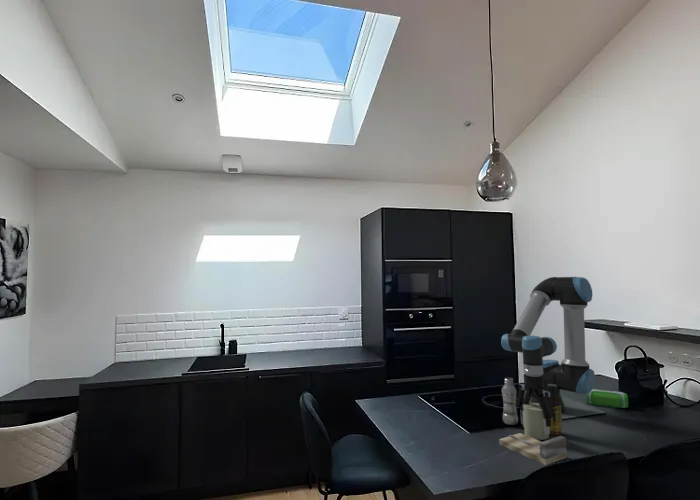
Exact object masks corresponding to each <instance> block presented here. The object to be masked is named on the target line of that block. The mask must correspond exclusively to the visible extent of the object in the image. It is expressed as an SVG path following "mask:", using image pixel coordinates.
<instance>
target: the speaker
mask: <svg viewBox="0 0 700 500" xmlns="http://www.w3.org/2000/svg"><path fill="white" fill-rule="evenodd" d="M585 402H586V403H587V404H589V405H594V406H600V407H607V408H615V409H618V408H619V409H625V408H629V397H628V394H627V393H625V392H622V391H614V390H606V389H595V388H592V390H591V392H590V393H588V394H585Z"/></svg>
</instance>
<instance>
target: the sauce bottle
mask: <svg viewBox="0 0 700 500" xmlns="http://www.w3.org/2000/svg"><path fill="white" fill-rule="evenodd" d="M547 388H548V392H549V391H550V392H551V399H552V403H553V408H554V412H555V417H554V418H551V426H550V434H549V436H550V435H551V436H561V434H562V430H563V429H562V426H563V425H562V412H561V404H560V401H559V399H558V395H557V389H558V386H557V385H555V384H547ZM545 403H546V402H545Z"/></svg>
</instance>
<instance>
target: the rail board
mask: <svg viewBox="0 0 700 500" xmlns="http://www.w3.org/2000/svg"><path fill="white" fill-rule="evenodd" d="M498 441H499V446H502V447H504V448H506V449H509V450H510V451H512V452H515V453H518V454H519V455H522V456H524V457H527V458H529V459H531V460H533V461H535V462H537V463H540V464H542V465H544V466H548V465H551V464H553V463H555V462H558V461H561V460H564V459H566V458H567V457H568V454H567V438H566V437H565V436H563V435H557V436H556V437H553V438H550V439H546V440H544V441H541V440H538V439H534V438H531V437H529V436H526V435H525V434H524V433H520V432H519V433H515V434H509V435H508V436H506V437H503V438H499V440H498Z"/></svg>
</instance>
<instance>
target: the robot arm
mask: <svg viewBox="0 0 700 500" xmlns="http://www.w3.org/2000/svg"><path fill="white" fill-rule="evenodd" d="M592 300H593V289H592V285H591V283H590V281H589V280H588V279H587V278H586V277H582V276H581V277H580V276H552V277H548V278H546V279H544V280H542V281H541V282H539V283H538V284H537V285H536V286H534V288H533V289H532V291H531V292H530V295H529V301H528V303H527V305H526V306H525V308H524V309H523V311H522V313H521V315H520V316H519V318H518V320H517V322H516V324H515V325H514V328H513V329H512V331H511V333H505V334H502V336H501V341H500V344H501V347H502V349H503V350H505V351H509V352H512V353H514V352H515V353H520V354H522V363H523V364H522V367H523V370H522V371H523V373H524V374H523V382H524V383H520V384H518V385H517V387H518V391H517V393H518V394H517V398H516V408H519V409H520V413H521V414H520V416H521V418H522V427H523V428H524V409H523V405H524V404H528V403H539V405H540V407H541V409H542V410H543V414H544V416H545V417H544V418H543V426H544V435H548V434H549V435H550V426H551V418H554V417H555V412H554V408H553V403H552V399H551V392H550V391H549V392H548V388H547V384H555V385H557V386H558V389H557V395H558V399H559V401H560V404H561V413H562V412H565V410H566V407H565V403H564V400H563V398H562V395H561V390H562V391H566V392H572V393H576V394H582V395H586V394H588V393H590V392H591V390H592V389H594V387H595V386H594V385H595V382H596V375H595V371H594V370H593V369H592V368H590V364H589V363H588V361H586V338H585V337H586V334H585V333H586V332H585V309H586V308H587V307H588V303H590V302H592ZM553 301H554V302H555V301H556V302H557V301H559V306H561V308H563V335H564V336H563V340H564V345H563V347H564V359H563V360H562V361H560V362H561V363H560V362H559V360H556V359H544V358H545V357H547V356H551V355H552V354H554V353H555V352H557V348H558V345H557V342H556V341H555V339H553V338H552V337H549V336H543V337H540V336H538V335H532V332H533V331H534V329H535V328H536V326H537V323H538V321H540V320H539V319H540V318H541V316H542V314H543V312H544V310H545V308H546V307H548V306H549V305H550V304H551V302H553ZM545 402H546V403H545Z"/></svg>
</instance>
